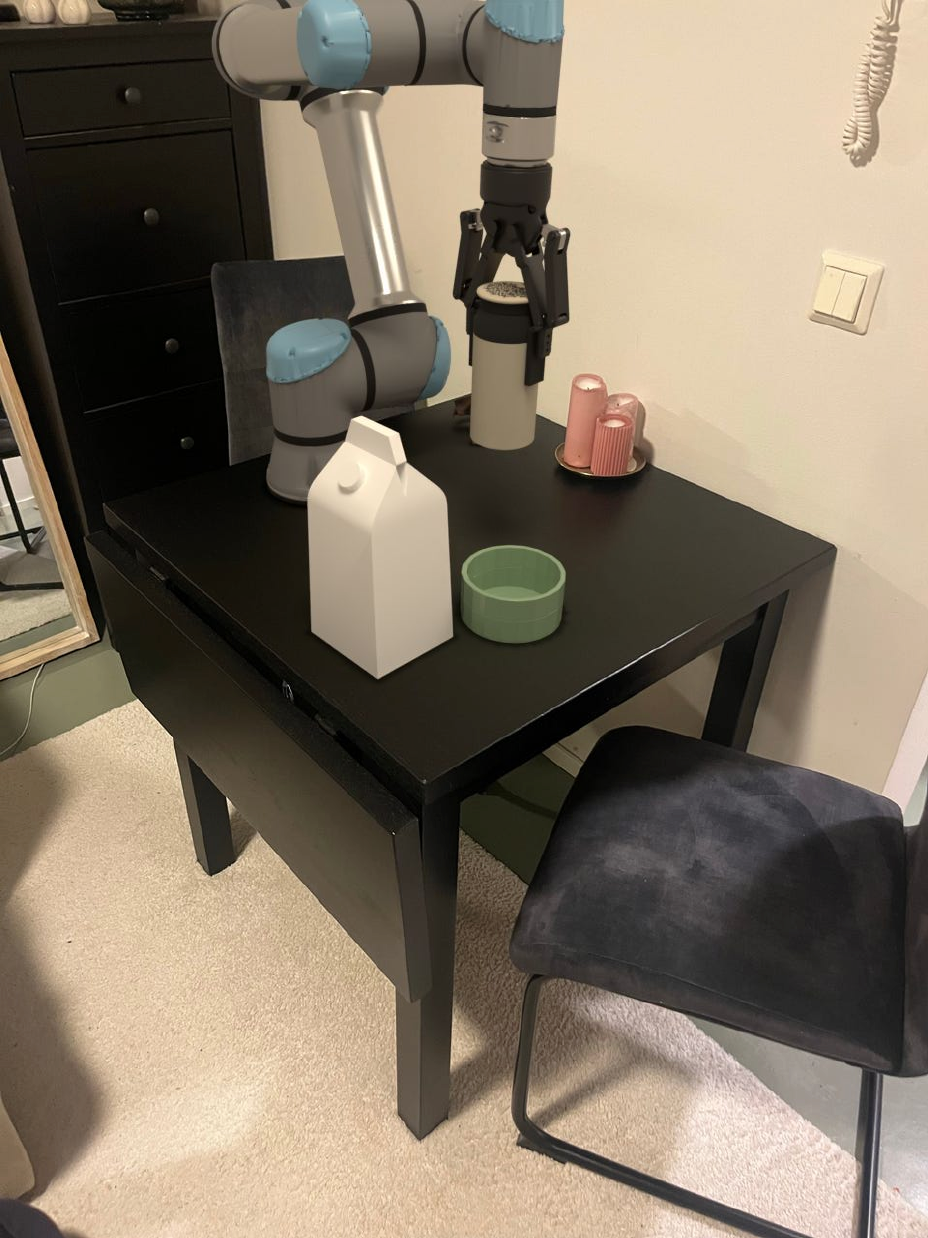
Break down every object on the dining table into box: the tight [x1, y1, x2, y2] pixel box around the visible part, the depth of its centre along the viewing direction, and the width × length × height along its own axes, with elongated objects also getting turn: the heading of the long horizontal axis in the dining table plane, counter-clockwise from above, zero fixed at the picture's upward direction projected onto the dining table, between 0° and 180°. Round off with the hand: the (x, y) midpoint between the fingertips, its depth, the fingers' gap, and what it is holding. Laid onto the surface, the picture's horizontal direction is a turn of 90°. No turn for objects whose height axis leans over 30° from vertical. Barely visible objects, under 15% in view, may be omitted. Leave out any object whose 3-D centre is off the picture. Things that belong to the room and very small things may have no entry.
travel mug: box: [469, 280, 539, 452], centre depth 106 cm, size 8×8×18 cm
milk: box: [307, 415, 454, 680], centre depth 98 cm, size 12×12×26 cm
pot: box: [460, 544, 567, 644], centre depth 108 cm, size 12×12×6 cm
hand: (505, 372), depth 107 cm, fingers closed on travel mug, 8 cm apart
